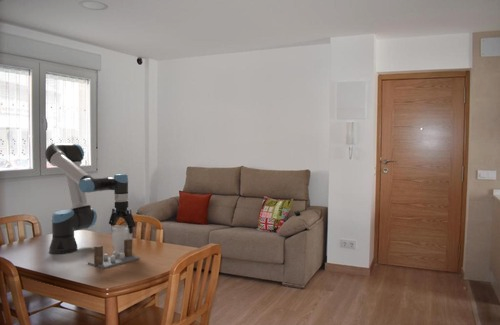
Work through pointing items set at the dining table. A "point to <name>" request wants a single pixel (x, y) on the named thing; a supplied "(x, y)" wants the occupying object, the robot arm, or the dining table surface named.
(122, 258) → the peg stand
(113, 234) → the jar
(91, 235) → the dining table surface
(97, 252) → the frame posts
